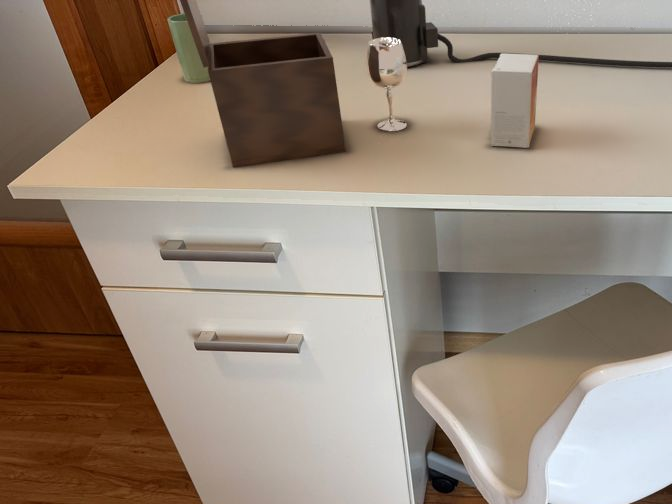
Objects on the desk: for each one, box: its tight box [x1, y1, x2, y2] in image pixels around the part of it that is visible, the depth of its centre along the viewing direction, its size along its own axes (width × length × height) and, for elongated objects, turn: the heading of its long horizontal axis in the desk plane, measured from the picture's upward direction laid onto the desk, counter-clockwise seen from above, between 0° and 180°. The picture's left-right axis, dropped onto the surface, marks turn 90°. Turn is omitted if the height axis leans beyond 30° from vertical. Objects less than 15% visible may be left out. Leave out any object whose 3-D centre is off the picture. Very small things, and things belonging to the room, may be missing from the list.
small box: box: [490, 52, 540, 149], centre depth 95 cm, size 8×6×10 cm
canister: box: [167, 12, 211, 84], centre depth 117 cm, size 6×6×10 cm
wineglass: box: [365, 37, 408, 132], centre depth 98 cm, size 6×6×12 cm
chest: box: [208, 32, 347, 168], centre depth 94 cm, size 16×12×13 cm
